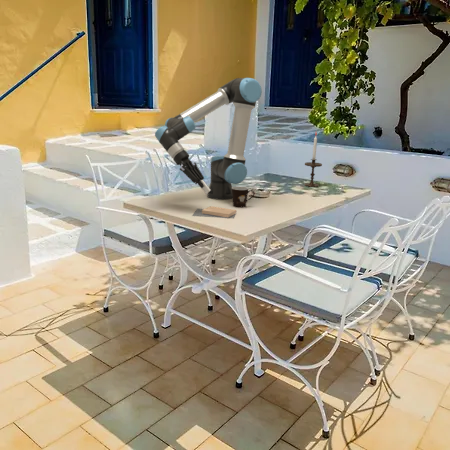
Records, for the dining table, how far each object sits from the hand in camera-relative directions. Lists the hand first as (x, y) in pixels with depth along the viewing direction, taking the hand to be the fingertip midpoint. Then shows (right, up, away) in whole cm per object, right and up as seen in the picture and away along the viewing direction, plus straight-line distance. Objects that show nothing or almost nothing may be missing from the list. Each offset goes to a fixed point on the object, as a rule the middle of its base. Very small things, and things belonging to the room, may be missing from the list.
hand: (208, 192), depth 225 cm
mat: (+3, -11, +2) cm, 11 cm away
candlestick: (+64, +9, +78) cm, 102 cm away
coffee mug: (+17, -7, +17) cm, 25 cm away
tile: (-1, -9, +3) cm, 9 cm away
